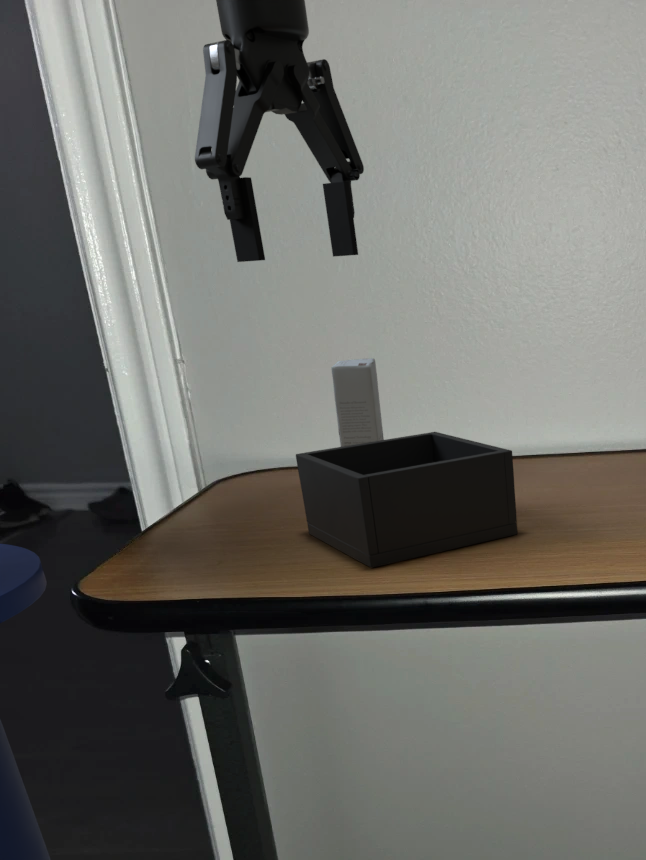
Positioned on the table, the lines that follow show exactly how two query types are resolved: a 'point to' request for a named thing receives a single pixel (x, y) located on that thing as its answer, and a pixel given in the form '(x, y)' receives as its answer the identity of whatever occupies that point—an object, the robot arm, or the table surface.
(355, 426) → the cosmetic box
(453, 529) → the basket
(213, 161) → the robot arm
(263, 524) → the table surface
